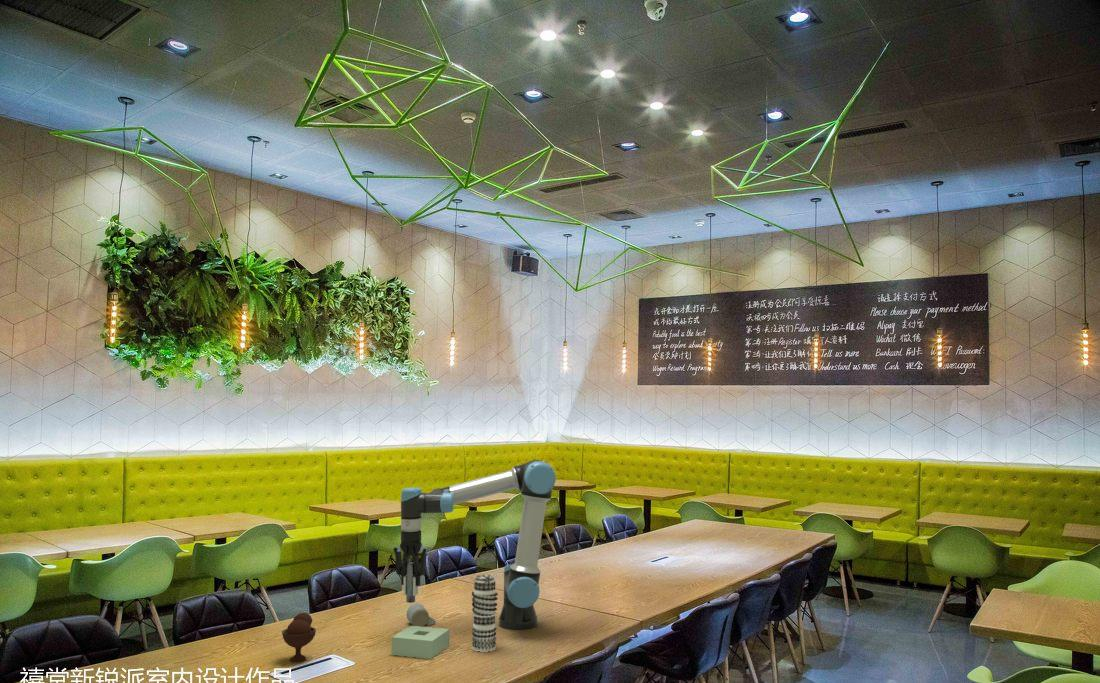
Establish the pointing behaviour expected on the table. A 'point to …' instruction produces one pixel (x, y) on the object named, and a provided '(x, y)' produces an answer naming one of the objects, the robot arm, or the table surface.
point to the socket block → (420, 642)
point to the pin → (410, 583)
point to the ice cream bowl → (299, 635)
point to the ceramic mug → (419, 615)
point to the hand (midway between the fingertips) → (410, 594)
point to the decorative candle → (484, 613)
